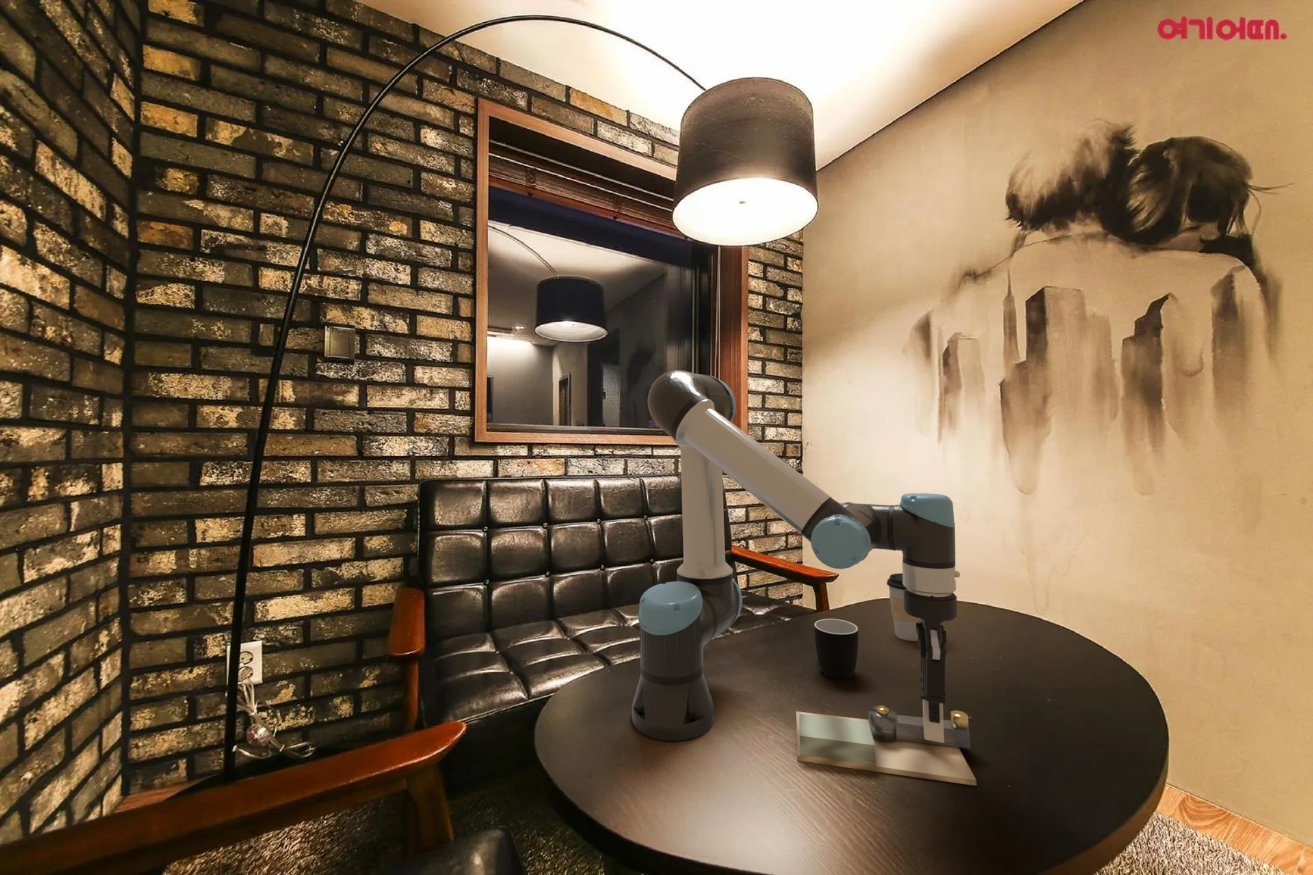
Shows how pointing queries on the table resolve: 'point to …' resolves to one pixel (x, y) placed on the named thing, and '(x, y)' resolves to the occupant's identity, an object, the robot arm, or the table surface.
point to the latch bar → (917, 728)
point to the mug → (836, 647)
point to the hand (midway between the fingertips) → (933, 738)
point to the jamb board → (875, 750)
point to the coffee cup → (901, 610)
